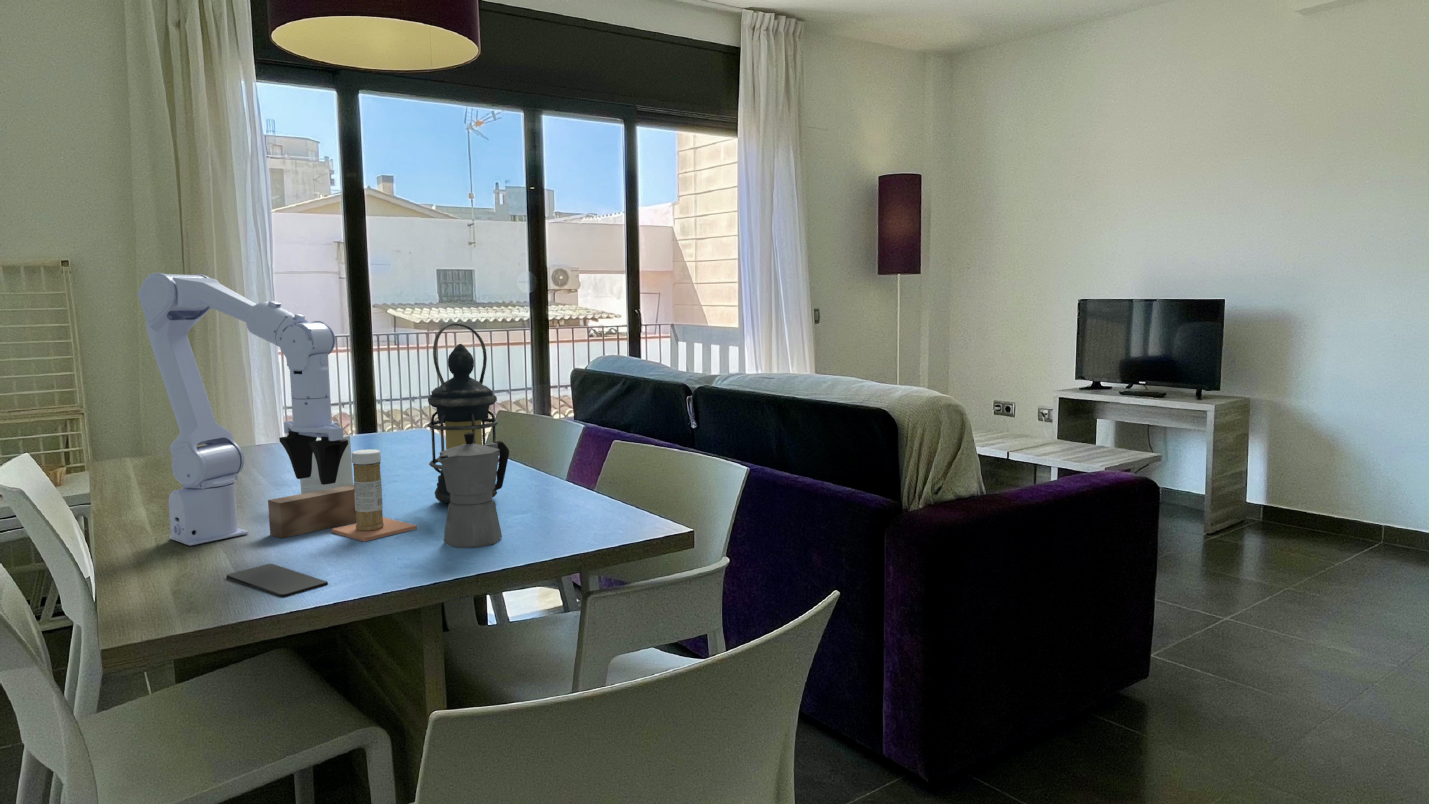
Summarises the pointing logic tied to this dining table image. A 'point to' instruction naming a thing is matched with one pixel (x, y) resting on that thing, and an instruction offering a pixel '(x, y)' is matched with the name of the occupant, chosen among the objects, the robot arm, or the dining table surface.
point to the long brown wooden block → (311, 511)
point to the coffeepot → (473, 492)
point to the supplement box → (342, 476)
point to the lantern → (459, 406)
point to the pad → (388, 529)
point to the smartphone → (276, 580)
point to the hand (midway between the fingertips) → (315, 480)
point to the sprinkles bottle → (367, 489)
